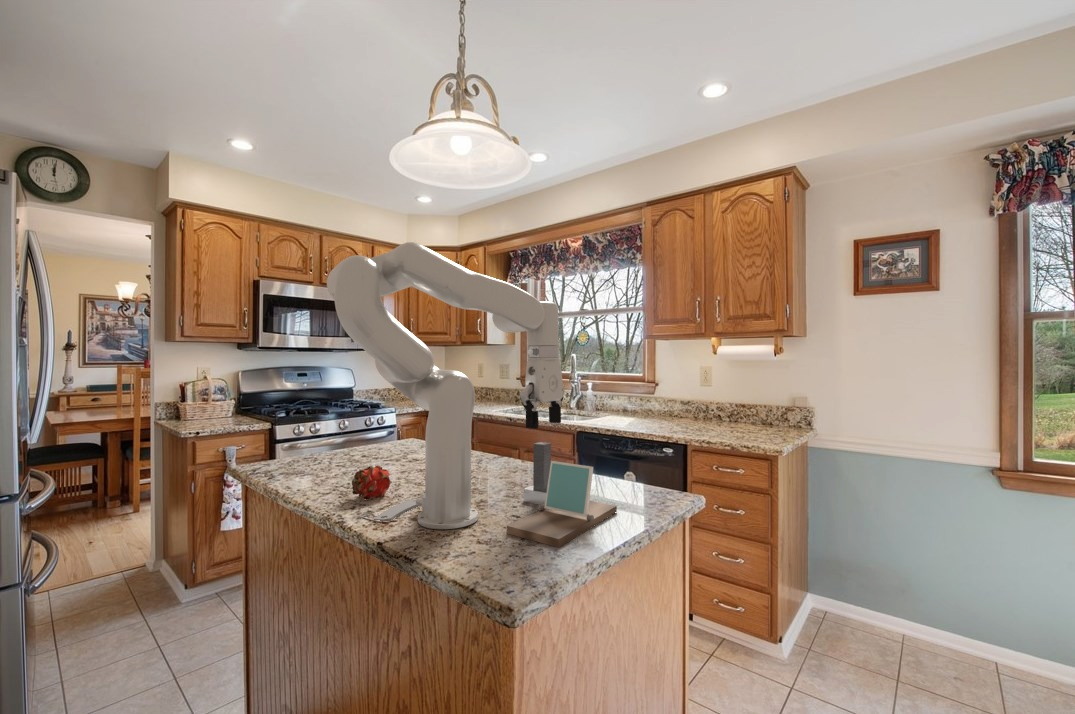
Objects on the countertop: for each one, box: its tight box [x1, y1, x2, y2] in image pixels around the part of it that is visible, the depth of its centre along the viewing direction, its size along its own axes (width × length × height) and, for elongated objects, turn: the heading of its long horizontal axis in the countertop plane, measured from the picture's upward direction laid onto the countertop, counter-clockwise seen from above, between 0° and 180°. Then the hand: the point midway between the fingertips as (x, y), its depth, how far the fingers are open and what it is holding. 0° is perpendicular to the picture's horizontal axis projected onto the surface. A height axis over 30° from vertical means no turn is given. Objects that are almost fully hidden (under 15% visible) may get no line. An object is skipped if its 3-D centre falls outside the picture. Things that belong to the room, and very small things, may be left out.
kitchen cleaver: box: [372, 499, 422, 521], centre depth 111 cm, size 24×1×10 cm
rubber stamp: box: [523, 441, 552, 505], centre depth 114 cm, size 4×8×14 cm, turn 55°
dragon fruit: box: [351, 465, 393, 501], centre depth 117 cm, size 8×8×12 cm
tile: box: [544, 460, 594, 517], centre depth 100 cm, size 10×10×1 cm
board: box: [506, 500, 618, 548], centre depth 99 cm, size 13×24×3 cm, turn 145°
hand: (543, 425), depth 114 cm, fingers open, 9 cm apart
